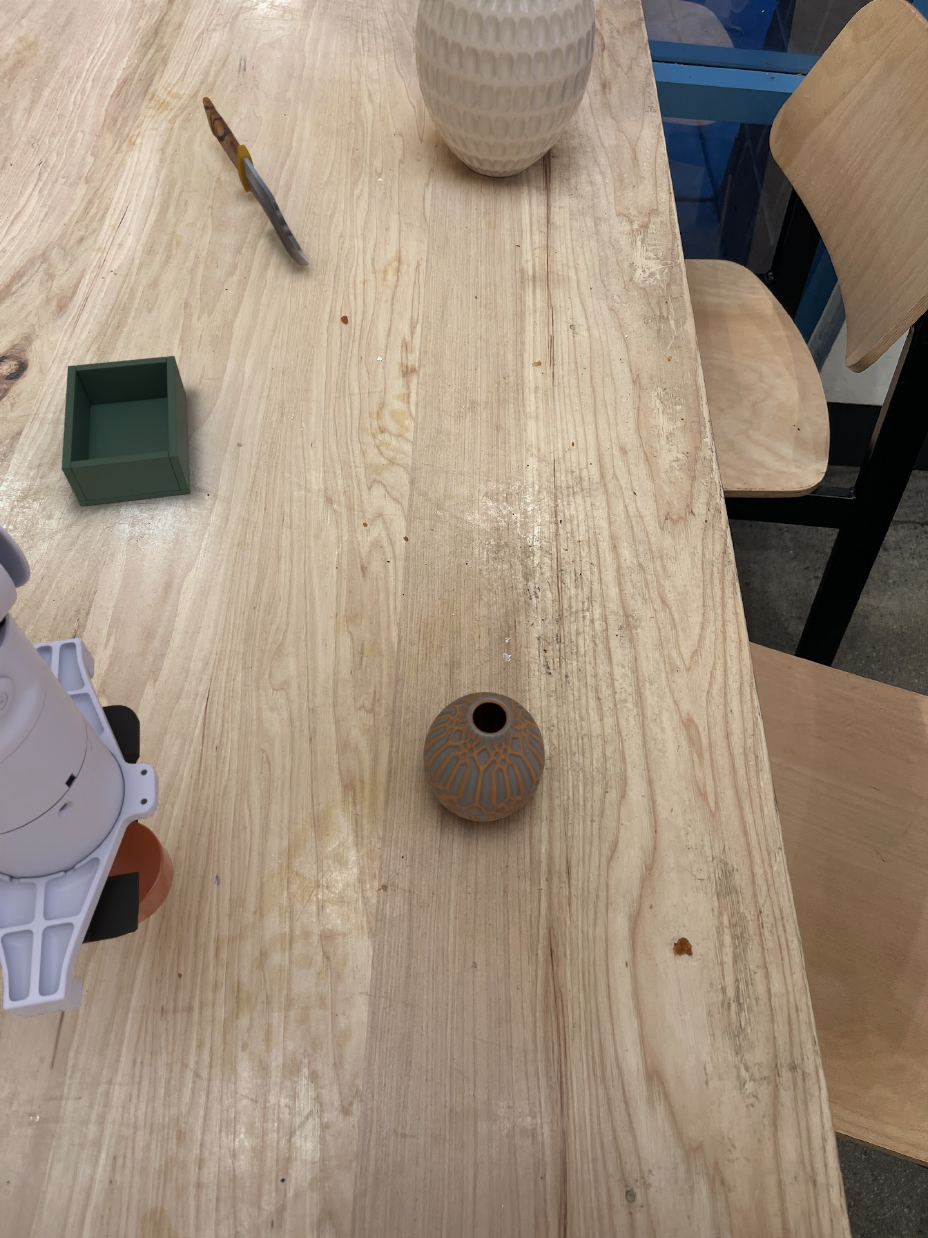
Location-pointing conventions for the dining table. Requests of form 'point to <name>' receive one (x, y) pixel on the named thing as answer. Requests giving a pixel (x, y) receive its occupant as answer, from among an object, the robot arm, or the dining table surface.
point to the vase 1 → (503, 75)
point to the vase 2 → (483, 756)
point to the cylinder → (145, 867)
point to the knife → (252, 180)
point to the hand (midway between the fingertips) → (116, 872)
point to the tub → (126, 431)
